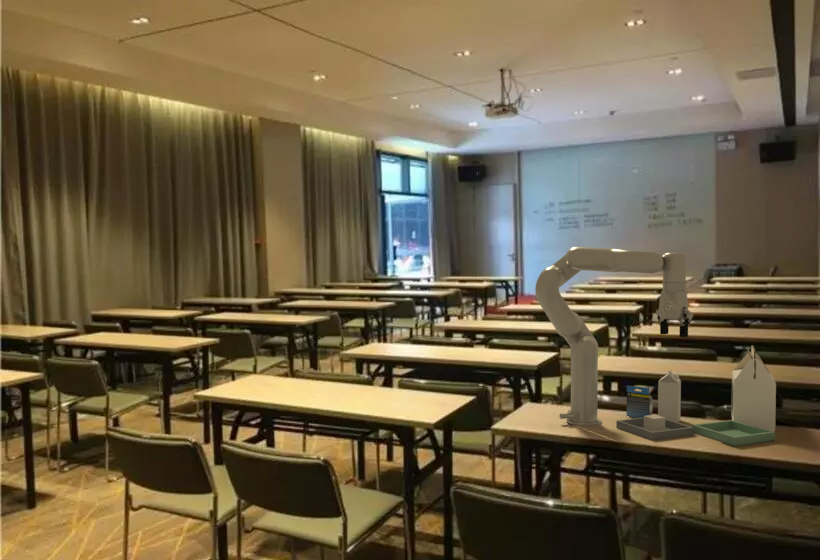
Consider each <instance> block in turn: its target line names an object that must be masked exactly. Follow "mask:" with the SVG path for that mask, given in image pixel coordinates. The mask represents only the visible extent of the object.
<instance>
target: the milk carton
mask: <svg viewBox="0 0 820 560" xmlns="http://www.w3.org/2000/svg"><path fill="white" fill-rule="evenodd" d="M657 383H658V386H657V401H658V402H657V415H658V416H661V417H665V419H668V420H671V421H675V422H679V423H680V421H681V410H682V409H681V407H682V406H681V399H682V395H681V394H682V393H681V392H682V391H681V390H682V388H681V387H682V380H681V379H680V376H679V375H678V374H677V373H673V372H672V368H670V369H669V370H668V373H667V374H665V375H664V376H662V377H661V378H660V379H659V380H658V382H657Z"/></svg>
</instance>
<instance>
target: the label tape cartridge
mask: <svg viewBox="0 0 820 560" xmlns="http://www.w3.org/2000/svg"><path fill="white" fill-rule="evenodd" d="M647 415H653V396H652V395H651V394H650V387H645V386H636V385H628V384H627V385H626V417H627V416H631V417H630V418H643V417H644V416H647Z"/></svg>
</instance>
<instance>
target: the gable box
mask: <svg viewBox="0 0 820 560" xmlns="http://www.w3.org/2000/svg"><path fill="white" fill-rule="evenodd" d="M746 349H747V353H746V354H745V355H744V356H743V357H742V359H741V360H740V361H739V363H738V364H737V365H736V366H735V368H734V369H733V370H732V372H731V420H732V421H736V422H740V423H743V424H747V425H751V426H754V427H758V428H762V429H766V430H769V431H775V432H776V412H777V411H776V408H777V407H776V405H777V404H776V403H777V398H776V395H777V382H776V380H775V378H774V377H773V374H772V373H771V372H770V370H769V369H768V367H767V366H766V364H765V363H764V362H763V360H762V358H761V357H760V356H759V354H758V353H756V348H755V347H754V345H751V350H749V348H748V347H746Z"/></svg>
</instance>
